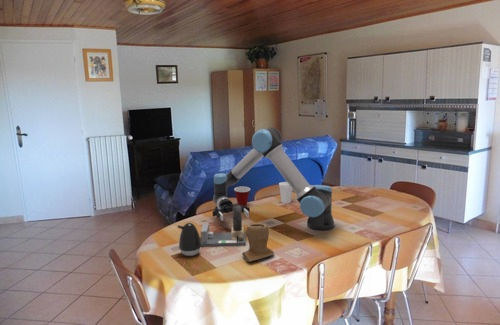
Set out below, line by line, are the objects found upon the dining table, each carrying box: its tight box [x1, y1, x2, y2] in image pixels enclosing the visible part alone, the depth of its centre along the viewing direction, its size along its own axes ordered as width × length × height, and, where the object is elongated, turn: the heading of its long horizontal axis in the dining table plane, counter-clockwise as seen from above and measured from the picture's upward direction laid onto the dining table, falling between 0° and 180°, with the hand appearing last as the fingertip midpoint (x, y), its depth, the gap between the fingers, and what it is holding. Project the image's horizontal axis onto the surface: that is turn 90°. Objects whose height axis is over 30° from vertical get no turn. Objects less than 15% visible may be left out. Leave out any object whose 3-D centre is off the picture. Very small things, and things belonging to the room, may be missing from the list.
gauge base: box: [200, 222, 247, 248], centre depth 191 cm, size 22×14×8 cm, turn 91°
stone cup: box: [241, 223, 275, 263], centre depth 171 cm, size 15×12×15 cm
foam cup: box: [278, 181, 293, 204], centre depth 256 cm, size 10×9×13 cm
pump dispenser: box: [177, 222, 201, 257], centre depth 175 cm, size 10×10×15 cm
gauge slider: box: [230, 205, 245, 243], centre depth 188 cm, size 6×12×16 cm, turn 1°
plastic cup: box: [233, 186, 251, 207], centre depth 249 cm, size 11×11×12 cm
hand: (235, 216), depth 191 cm, fingers open, 13 cm apart
